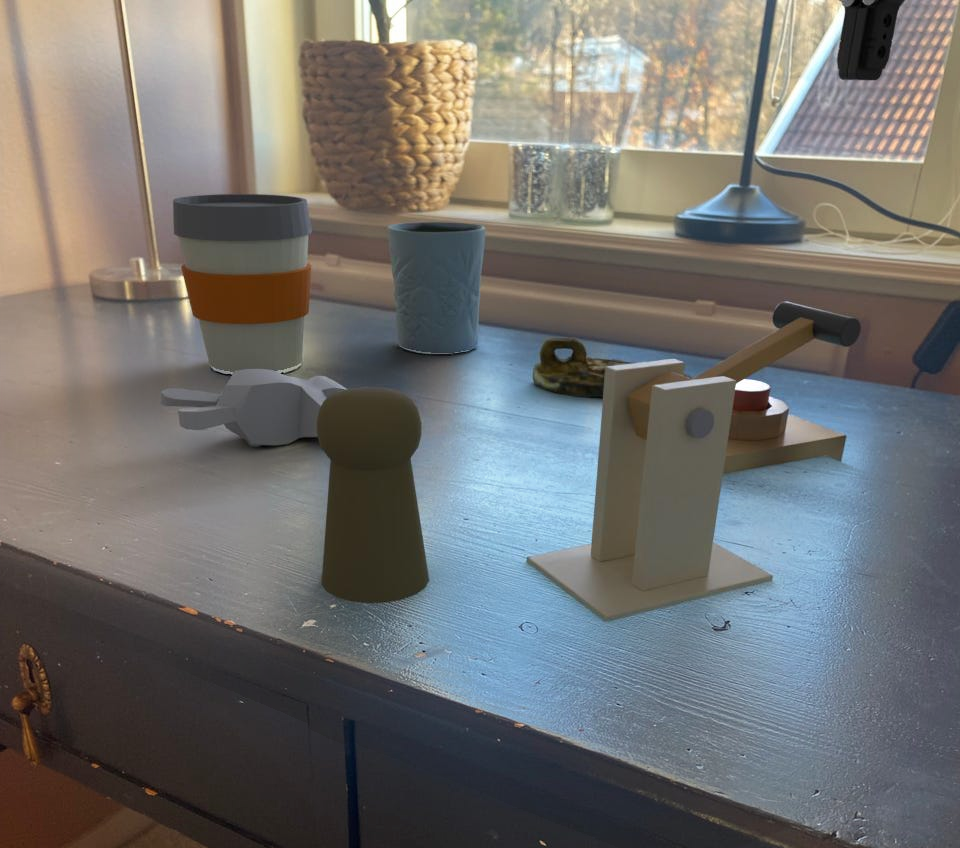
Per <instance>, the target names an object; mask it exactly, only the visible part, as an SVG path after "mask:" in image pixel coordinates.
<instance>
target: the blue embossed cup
mask: <svg viewBox="0 0 960 848" xmlns="http://www.w3.org/2000/svg"><path fill="white" fill-rule="evenodd" d="M486 230H487V229H486V227H485V226H484V225H481V224H474V223H464V222H445V221H444V222H443V221H442V222H440V221H439V222H438V221H426V222H425V221H419V222H404V223H403V222H402V223H401V222H400V223H395V224H390V225H389V226H387V238H388V247H389V258H390V265H391V275H392V280H393V285H394V291H393V293H394V300H395V310H396V317H395V320H396V321H395V323H396V332H397V343H399V344H398V346H399V345H401V346H402V347H404V348H407V349H411V350H416V351H421V352H431V353H455V352H461V351H466V350H470V349H473V348H475V347H476V348H477V346H478V342H479V324H480V321H479V317H480V315H479V311H480V300H481V283H482V282H481V281H482V270H483V262H484V255H485V243H486V242H485V241H486ZM476 348H475V349H476Z"/></svg>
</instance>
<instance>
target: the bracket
mask: <svg viewBox="0 0 960 848" xmlns="http://www.w3.org/2000/svg"><path fill="white" fill-rule="evenodd" d="M640 362H641V361H640ZM640 362H637V363H633V362H632V363H633V364H624V365H616V366H607V367H606V368H605V379H604V392H603V397H602V403H601V404H602V405H601V417H600V418H601V419H600V430H599V445H598V457H597V468H596V481H595V495H594V505H593V507H594V508H593V519H592V531H591V535H592V536H591V543H587V544H582V545H577V546H572V547H568V548H564V549H558V550H553V551H549V552H544V553H543V552H542V553H538V554H534V555H529V556H527V557H526V559H525V561H526V563H527V564H529V566H531V567H532V568H534V570H536V571H538V573H540V574H541V575H543V576H544V577H545V578H547V579H548V580H549V581H551V583H553V584H555V585H556V586H557V587H559V588H560V589H561V590H563V591H564V592H565V593H567V594H568V595H569V596H570V597H572V598H573V599H574V600H576V601H577V602H578V603H580V604H581V605H583V606H584V607H585V608H586V609H588V610H589V611H590V612H592V613H593V614H594V615H595V616H597V617H598V618H599V619H601V620H602V621H603V622H605V623H607V622H612V621H615V620H620V619H624V618H627V617H628V618H629V617H631V616H637V615H639V614H643V613H647V612H652V611H655V610H660V609H663V608H664V609H665V608H667V607H671V606H676V605H680V604H683V603H688V602H693V601H696V600H701V599H705V598H709V597H713V596H716V595H720V594H724V593H729V592H733V591H736V590H737V591H738V590H740V589H744V588H749V587H753V586H757V585H760V584H764V583H769V582H772V581H773V579H774V576H773V574H771V573H769V572H768V571H766V570H764V569H762V568H761V567H759V566H757V565H755V564H753V563H752V562H750V561H748V560H746V559H744V558H743V557H741V556H739V555H738V554H736V553H734V552H732V551H730V550H728V549H727V548H724V547H723V546H721V545H719V544H718V543H716V542H714V537H715V531H716V526H717V525H716V524H717V518H718V510H719V503H720V497H721V489H722V483H723V477H724V474H723V470H724V463H725V456H726V449H727V443H728V436H729V429H730V422H731V415H732V408H733V401H734V395H735V388H736V380H733V379H731V378H728V377H725V376H720V377H712V378H705V379H697V380H689V381H682V382H674V383H666V384H659V385H653V386H652V393H651V402H650V412H649V421H648V431H647V440H645V439H643V438H641V437H639V436H637V435H636V433H635V428H634V424H633V419H632V415H631V411H630V406H629V402H628V397H627V395H628V394H630V393H632V392H633V391H635V390H637V389H639V388H640V387H642V386H644V385H646V384H648V383H649V382H651V381H653V380H655V379H657V378H658V377H660V376H662V375H664V374H665V373H667V372H669V371H672V372H674V373H677V374H680V375H682V376H684V374H685V369H686V368H685V367H686V362H684V361H683V360H682V361H681V360H679V359H676V358H668V359H660V360H659V359H658V360H651V361H642V362H641V363H640Z"/></svg>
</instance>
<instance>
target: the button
mask: <svg viewBox="0 0 960 848" xmlns="http://www.w3.org/2000/svg"><path fill="white" fill-rule="evenodd" d="M771 389H772V388H771V386H770V385H769V384H768V383H766V382H764V381H759V380H754V379H747V378H745V379H743V380H742V381H740V382H738V383H736V388H735V395H734V401H733V408H732V410H737V411H755V412H757V411H764V410H767V407H768V401H769V397H770V393H771Z"/></svg>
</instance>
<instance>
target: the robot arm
mask: <svg viewBox="0 0 960 848" xmlns="http://www.w3.org/2000/svg"><path fill="white" fill-rule="evenodd" d="M838 1H839V2H840V3H841V5H842V7H844V17H843V22H842V27H841V33H840V39H839V40H840V41H839V45H838V48H839V49H838V50H837V51H838V52H837V58H836V63H837V64H836V66H837V69H838V77H839V79H840V80H842V81H878V80H879V79H880V77H881V76H882V74H883V70H886V69H885V68H886V66H887V64H888V62H889V60H890V55H891V48H892V44H893V38H894V35H895V28H896V23H897V18H898V14H899V10H900V7H901V6H902V5H903V4H904V3H905V2H906V0H838Z"/></svg>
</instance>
